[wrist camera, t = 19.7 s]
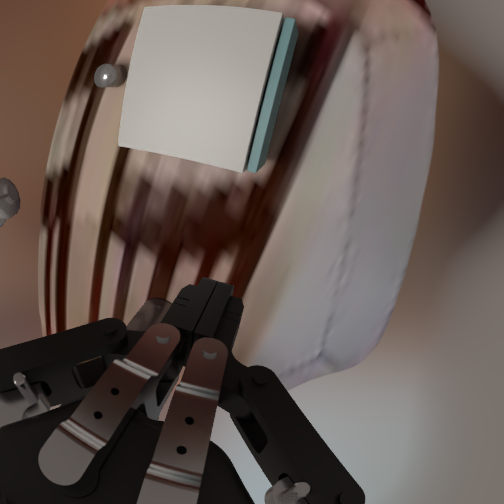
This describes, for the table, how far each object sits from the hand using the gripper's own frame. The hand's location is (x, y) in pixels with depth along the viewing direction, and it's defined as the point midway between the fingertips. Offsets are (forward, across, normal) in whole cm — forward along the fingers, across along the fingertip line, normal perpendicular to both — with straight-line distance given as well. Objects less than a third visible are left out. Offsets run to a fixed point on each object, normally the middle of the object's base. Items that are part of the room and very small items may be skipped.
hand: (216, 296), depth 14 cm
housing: (+27, +10, -11) cm, 31 cm away
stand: (+27, +26, -11) cm, 39 cm away
